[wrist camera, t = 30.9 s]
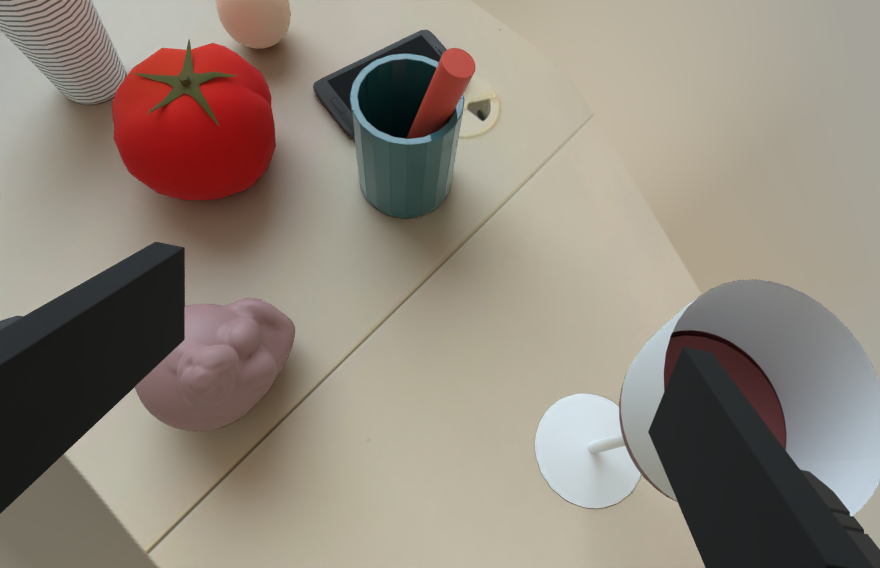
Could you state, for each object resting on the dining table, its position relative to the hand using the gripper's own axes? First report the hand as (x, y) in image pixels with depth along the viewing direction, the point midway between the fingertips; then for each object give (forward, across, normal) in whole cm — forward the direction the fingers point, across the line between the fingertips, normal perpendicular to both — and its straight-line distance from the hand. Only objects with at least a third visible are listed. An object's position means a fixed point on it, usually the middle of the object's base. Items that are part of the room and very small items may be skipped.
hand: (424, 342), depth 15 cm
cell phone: (+45, -9, +3) cm, 46 cm away
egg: (+47, -22, +4) cm, 52 cm away
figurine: (+24, -14, -19) cm, 34 cm away
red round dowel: (+37, -5, -4) cm, 38 cm away
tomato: (+37, -22, -6) cm, 43 cm away
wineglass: (+23, +14, -20) cm, 33 cm away
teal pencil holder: (+38, -5, -5) cm, 39 cm away
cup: (+41, -36, -2) cm, 54 cm away
